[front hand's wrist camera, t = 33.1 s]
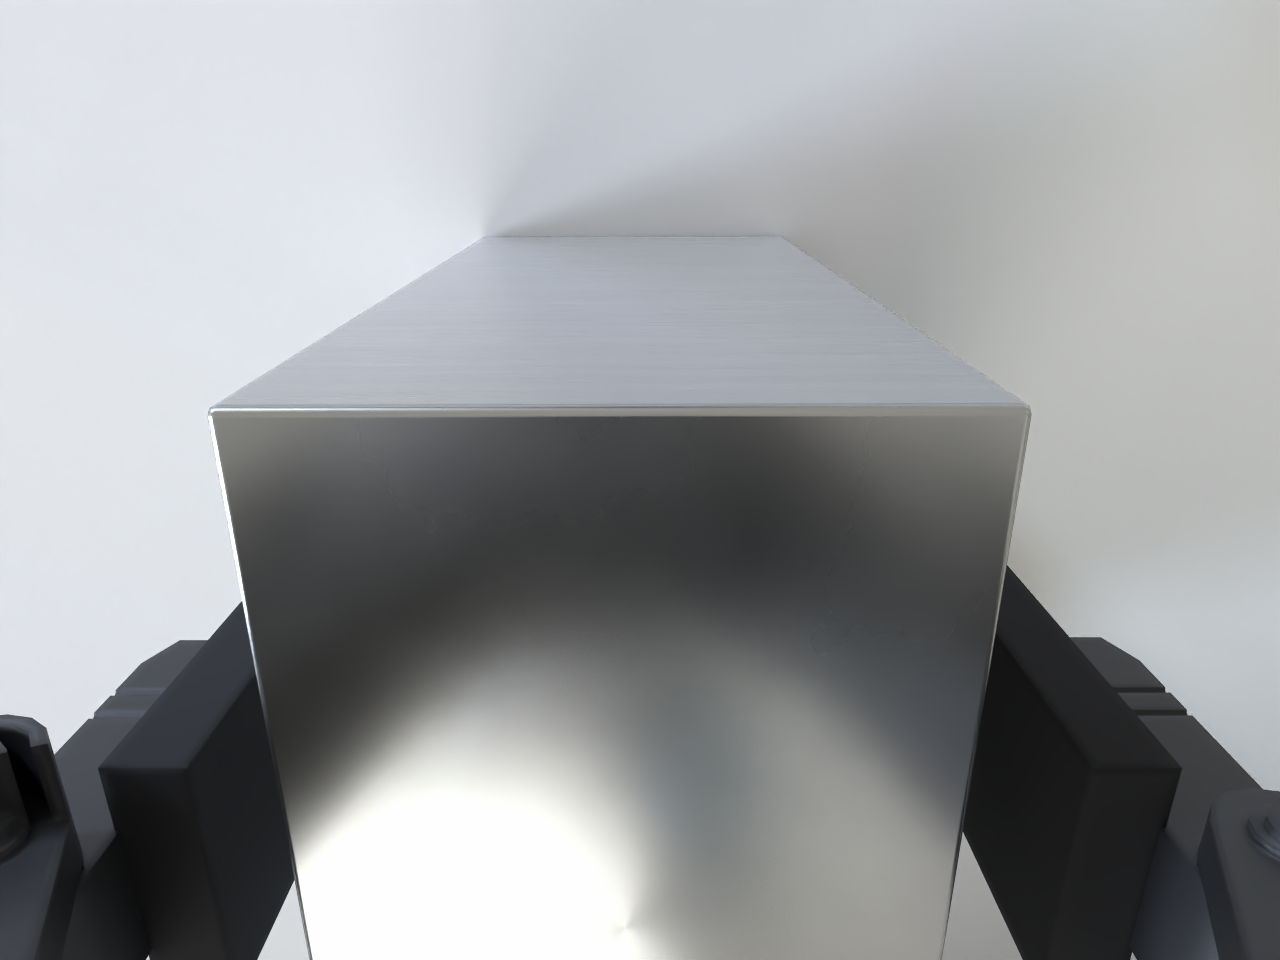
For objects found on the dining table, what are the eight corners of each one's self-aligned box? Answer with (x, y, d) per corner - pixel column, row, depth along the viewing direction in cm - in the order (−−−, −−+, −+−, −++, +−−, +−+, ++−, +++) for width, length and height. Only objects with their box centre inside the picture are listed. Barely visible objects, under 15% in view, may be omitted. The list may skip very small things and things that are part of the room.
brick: (759, 665, 19) (895, 1258, 9) (509, 665, 19) (362, 1259, 9) (783, 235, 16) (1037, 407, 6) (481, 236, 16) (200, 407, 6)
